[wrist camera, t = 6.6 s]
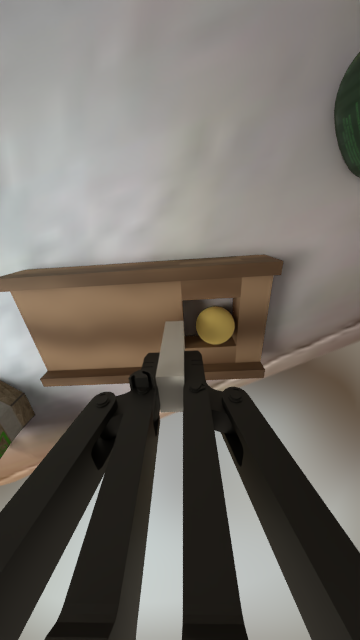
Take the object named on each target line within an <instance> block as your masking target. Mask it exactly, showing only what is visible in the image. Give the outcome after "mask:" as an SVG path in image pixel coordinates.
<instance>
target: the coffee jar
mask: <svg viewBox="0 0 360 640" xmlns="http://www.w3.org/2000/svg"><path fill="white" fill-rule="evenodd" d="M334 120H335V130H336V136H337V140H338V145H339V149H340V151H341V154H342V156H343V159H344V161H345V163H346V164H347V166H348V168H349V169H350V171H351V172H352V173H353V174H355V175H356V176H358V177H360V52H359V53H358V55H357V56H356V57H355V59H354V60H353V62H352V63H351V65H350V66H349V68H348V69H347V71H346V73H345V75H344V77H343V79H342V81H341V84H340V87H339V90H338V93H337V97H336V101H335V109H334Z"/></svg>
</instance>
